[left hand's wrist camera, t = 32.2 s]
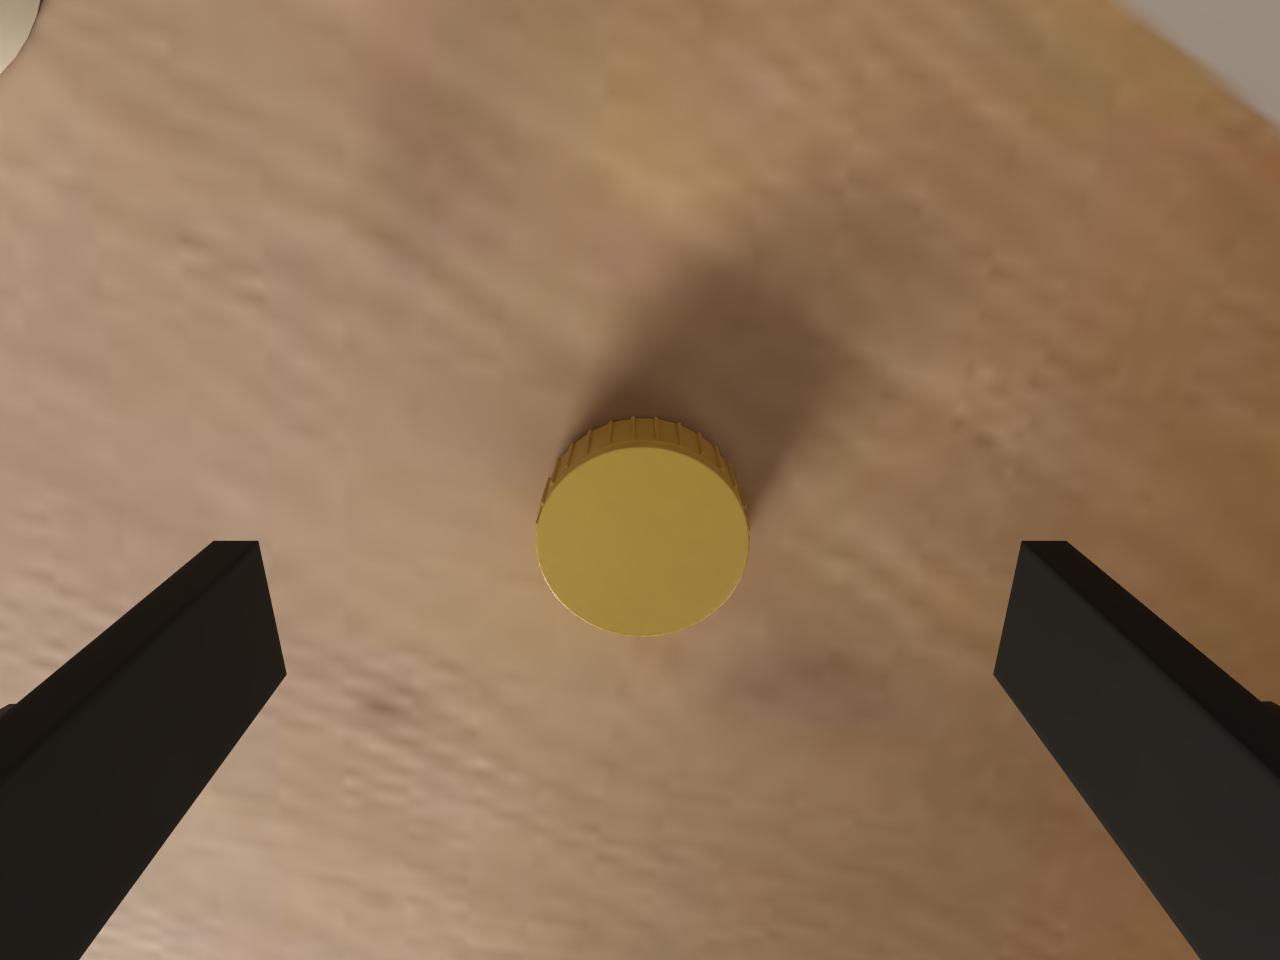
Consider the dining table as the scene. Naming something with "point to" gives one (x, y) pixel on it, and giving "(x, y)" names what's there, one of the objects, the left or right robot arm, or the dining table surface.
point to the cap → (642, 528)
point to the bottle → (15, 27)
